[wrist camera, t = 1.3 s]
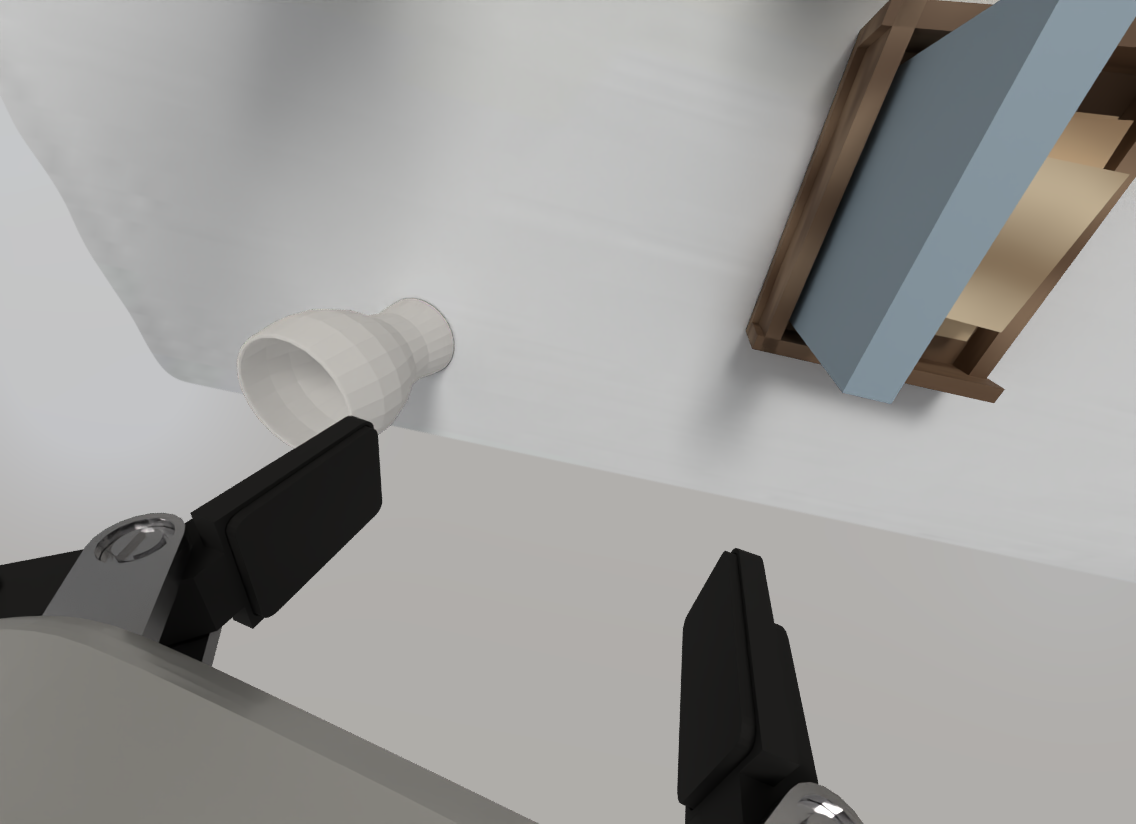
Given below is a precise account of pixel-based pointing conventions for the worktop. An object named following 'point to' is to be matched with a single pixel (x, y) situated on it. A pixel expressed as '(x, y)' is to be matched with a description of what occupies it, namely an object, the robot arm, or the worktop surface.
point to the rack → (888, 40)
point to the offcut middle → (1090, 140)
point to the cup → (340, 366)
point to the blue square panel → (946, 180)
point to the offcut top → (1034, 240)
